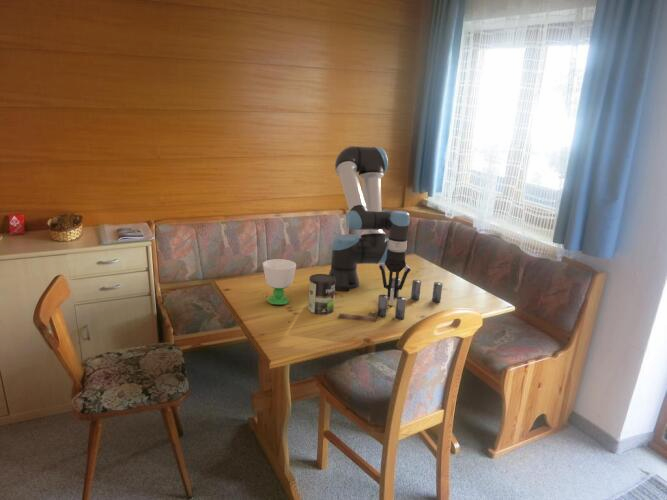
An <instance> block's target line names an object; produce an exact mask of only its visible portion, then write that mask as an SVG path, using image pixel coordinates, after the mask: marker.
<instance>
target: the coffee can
mask: <svg viewBox="0 0 667 500" xmlns="http://www.w3.org/2000/svg"><path fill="white" fill-rule="evenodd" d="M335 282H336V278H335V277H334V276H331V275H329V274H326V273H316V274H315V273H314V274H312V275H310V276H309V284H308V285H309V286H308V288H309V290H308V309H307V310H308V312H310V313H311V314H314V315H320V316H321V315H329V314H332V313H334V311H335V310H334V308H335V296H336V295H335V294H336V293H335V292H336V290H335Z"/></svg>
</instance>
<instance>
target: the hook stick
mask: <svg viewBox="0 0 667 500" xmlns="http://www.w3.org/2000/svg"><path fill="white" fill-rule="evenodd" d="M338 319H341V320H351V321H352V320H353V321H363V322H374V323H375V322H376V320H377V312H370V316H369V315H359V314H349V313H348V314H347V313H339V315H338Z"/></svg>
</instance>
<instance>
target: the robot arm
mask: <svg viewBox="0 0 667 500" xmlns="http://www.w3.org/2000/svg"><path fill="white" fill-rule="evenodd" d="M388 166H389V160H388V155H387V152H386V150H384V149H383V148H381V147H376V146H373V147H372V146H371V147H370V146H356V145H355V146H354V145H353V146H351V145H350V146H348V147H345V148H344V149H342V151H341V150H340V152H339V154H338V155H337V156H336V158H335V163H334V168H335V169H334V170H335V173H336V175H337V176H338V177H339V179H340V182H341V186H342V189H343V193H344V197H345V200H346V205H347V208H348V211H347V213H346V217H345V222H346V224H345V225H346V227H347V229H349V230H358V231H361V230H362V231H363V232H361V234H360V237H359V235H357V234H354V233H352V234H351V233H345V234H340V235H336V237H334V238H333V240H332V244H331V245H332V246H331V262H330V270H329V273H328V275H331V276H334V277H335V278H336V282H335V291H343V292H344V291H345V292H346V291H348V292H349V291H350V290H354V289H357V288H358V287H359V286H360V280H359V275H358V272H357V267H358V264H359V265H361V264H363V265H364V264H365V265H367V264H368V265H369V264H371V265H372V264H373V265H374V264H375V265H378V264H379V267H378V268H379V270H380V271H381V278H382V284H383V288H384V289H387V293H386V294H387V296H388V298H389V301H388V302H389V303H388V304H389V306H391V307H393V306H394V299H397V298H396V297H397V291H398V290H399V291H402V290H403V287H404V285H405V282H406V279H407V276H408V274H409V273H410V271H411V269H412V268H411V267H410V266H408V265H407V263H406V253H407V251H406V250H407V246H408V238H409V237H408V236H409V229H410V223H411V221H410V220H411V219H410V213H409V212H408V211H405V210H391V209H383V210H382V187H381V186H382V185H381V182H382V181H381V179H382V178H384V177H385V176H384V175H385V173H386V172H387V171H388ZM357 173H358V174H357ZM359 179H360V180H361V184H360V181H359ZM384 230H386V231H388V236H387V233H386V232H385V231H384ZM385 269H387V270H388V271H389V273H388V275H389V276H388V283H387V277H386V276H387V275H386V270H385ZM402 270H404V273H403V275H402V277H401V279H400V278H399V277H400V272H401V271H402ZM394 273H395V277H396V278H395V288H394V289H392V288H391V284H392V278H393V274H394ZM398 278H399V279H400V285H399V286H398Z"/></svg>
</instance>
